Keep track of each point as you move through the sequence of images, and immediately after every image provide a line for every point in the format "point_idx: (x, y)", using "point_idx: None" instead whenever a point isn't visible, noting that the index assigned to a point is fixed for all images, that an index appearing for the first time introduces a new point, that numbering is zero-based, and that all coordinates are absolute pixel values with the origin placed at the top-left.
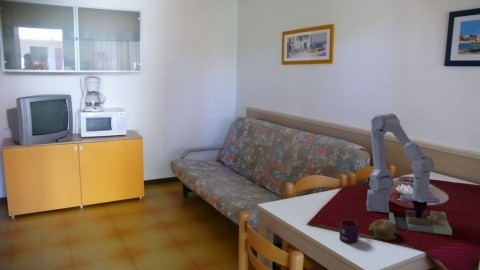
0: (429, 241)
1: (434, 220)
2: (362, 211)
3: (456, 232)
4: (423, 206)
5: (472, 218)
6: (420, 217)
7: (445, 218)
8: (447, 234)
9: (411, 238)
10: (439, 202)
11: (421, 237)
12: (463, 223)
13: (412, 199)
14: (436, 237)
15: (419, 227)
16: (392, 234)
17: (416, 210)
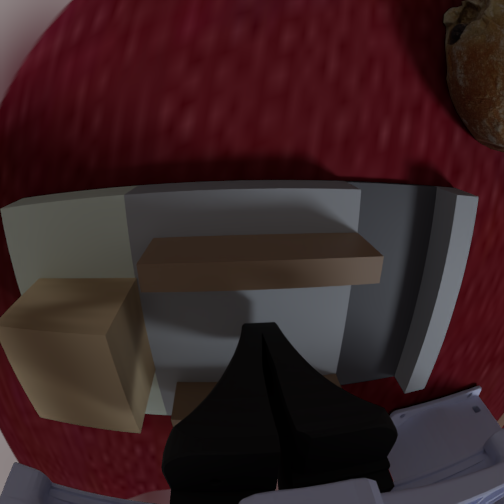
0: (199, 2)
1: (105, 300)
2: (498, 368)
3: (5, 257)
4: (227, 430)
5: (3, 424)
6: (242, 333)
7: (9, 314)
8: (44, 195)
9: (341, 22)
10: (6, 482)
11: (255, 55)
12: (8, 382)
13: (442, 492)
14: (125, 100)
15: (261, 185)
16: (480, 2)
17: (310, 377)
